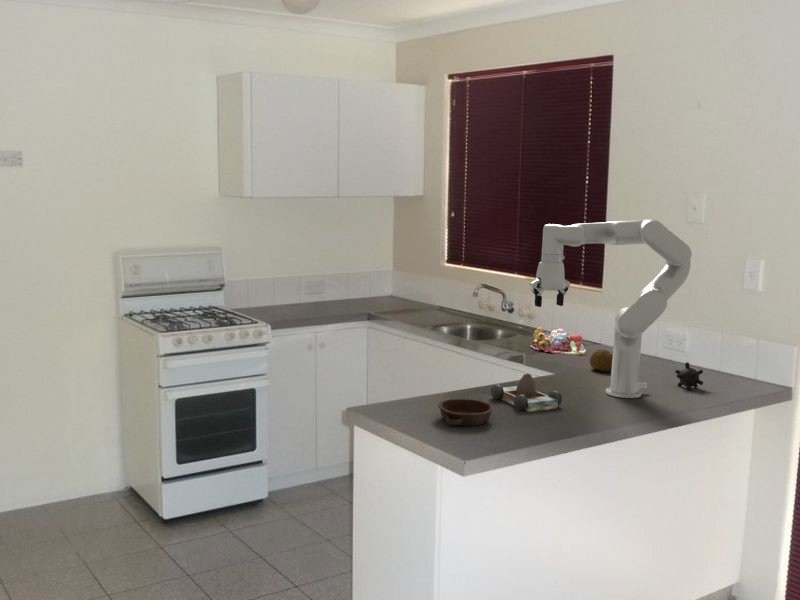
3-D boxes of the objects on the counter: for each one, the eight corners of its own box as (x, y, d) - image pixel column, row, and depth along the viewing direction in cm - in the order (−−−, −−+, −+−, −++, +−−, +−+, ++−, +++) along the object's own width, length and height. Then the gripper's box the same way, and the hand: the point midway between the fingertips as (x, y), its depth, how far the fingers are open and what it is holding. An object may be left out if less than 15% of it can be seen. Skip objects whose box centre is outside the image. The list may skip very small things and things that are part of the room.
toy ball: (694, 386, 317) (667, 373, 324) (696, 400, 325) (669, 387, 332) (709, 366, 320) (681, 353, 327) (710, 381, 328) (683, 368, 335)
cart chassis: (527, 393, 310) (528, 379, 309) (562, 407, 292) (563, 393, 291) (489, 397, 302) (490, 383, 302) (523, 412, 285) (524, 397, 284)
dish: (423, 423, 268) (424, 408, 267) (456, 408, 287) (456, 393, 286) (475, 434, 260) (475, 418, 259) (504, 417, 278) (505, 402, 278)
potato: (611, 375, 343) (613, 353, 342) (584, 370, 351) (586, 348, 349) (621, 372, 349) (623, 351, 348) (594, 367, 357) (596, 346, 356)
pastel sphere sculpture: (531, 353, 381) (533, 332, 379) (527, 343, 404) (528, 323, 402) (589, 356, 379) (591, 335, 378) (581, 345, 402) (582, 326, 401)
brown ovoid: (520, 395, 302) (522, 371, 301) (539, 399, 298) (540, 374, 297) (512, 399, 296) (513, 374, 295) (531, 403, 293) (532, 377, 291)
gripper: (564, 257, 319) (561, 303, 322) (526, 258, 311) (523, 305, 314) (577, 259, 313) (574, 306, 315) (538, 260, 305) (535, 308, 307)
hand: (548, 305), depth 315 cm, fingers open, 9 cm apart
